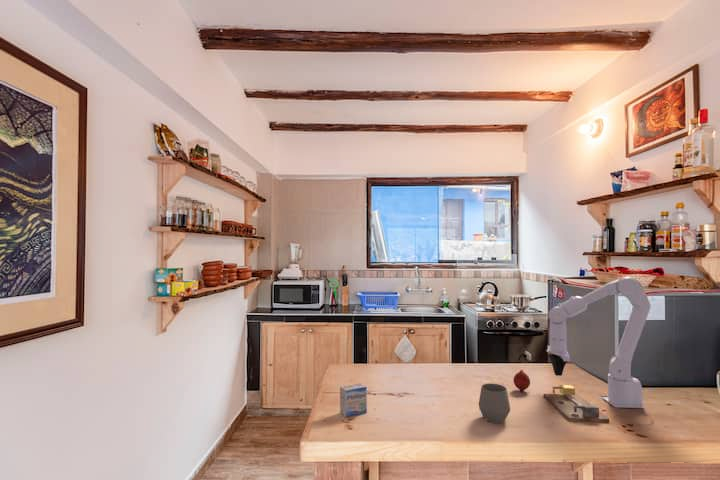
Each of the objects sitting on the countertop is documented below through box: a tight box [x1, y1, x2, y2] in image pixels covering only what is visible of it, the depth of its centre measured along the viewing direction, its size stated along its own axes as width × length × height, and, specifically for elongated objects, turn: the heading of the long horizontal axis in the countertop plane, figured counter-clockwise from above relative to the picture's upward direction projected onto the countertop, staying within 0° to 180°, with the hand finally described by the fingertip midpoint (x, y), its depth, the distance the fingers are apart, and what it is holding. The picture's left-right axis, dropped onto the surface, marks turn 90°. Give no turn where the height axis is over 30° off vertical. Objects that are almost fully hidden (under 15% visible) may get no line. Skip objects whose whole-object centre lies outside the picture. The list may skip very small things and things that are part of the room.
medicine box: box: [339, 383, 368, 419], centre depth 128 cm, size 8×4×9 cm, turn 118°
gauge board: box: [543, 393, 610, 423], centre depth 131 cm, size 12×20×4 cm, turn 176°
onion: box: [513, 369, 531, 392], centre depth 147 cm, size 6×6×8 cm
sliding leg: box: [552, 384, 576, 395], centre depth 139 cm, size 7×3×2 cm, turn 86°
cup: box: [478, 382, 511, 424], centre depth 123 cm, size 10×9×10 cm
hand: (558, 375), depth 146 cm, fingers closed
